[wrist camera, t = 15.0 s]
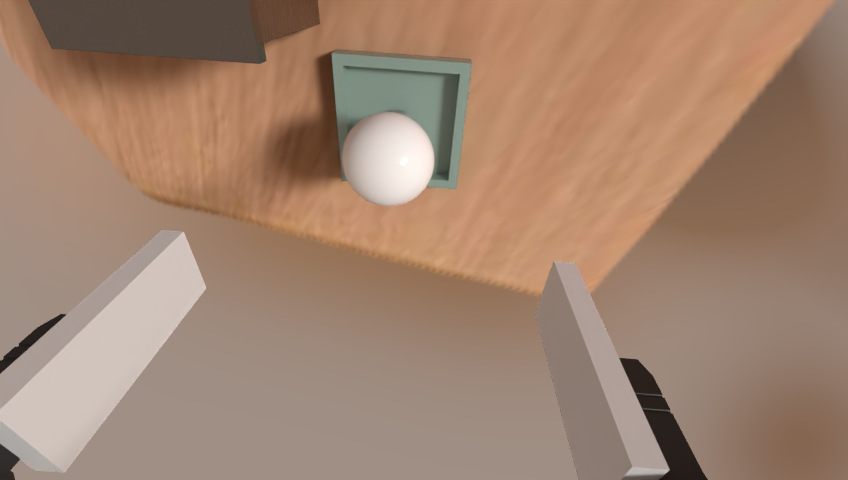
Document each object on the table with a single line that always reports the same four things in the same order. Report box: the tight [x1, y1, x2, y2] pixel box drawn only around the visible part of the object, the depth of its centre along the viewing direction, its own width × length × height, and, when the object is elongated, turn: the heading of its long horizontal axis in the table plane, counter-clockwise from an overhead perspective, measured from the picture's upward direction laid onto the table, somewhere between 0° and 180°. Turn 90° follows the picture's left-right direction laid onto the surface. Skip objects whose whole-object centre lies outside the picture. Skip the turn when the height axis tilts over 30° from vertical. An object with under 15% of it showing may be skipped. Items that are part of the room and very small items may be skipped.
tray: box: [331, 50, 472, 189], centre depth 31 cm, size 11×11×2 cm
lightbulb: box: [342, 110, 434, 206], centre depth 27 cm, size 6×6×11 cm
